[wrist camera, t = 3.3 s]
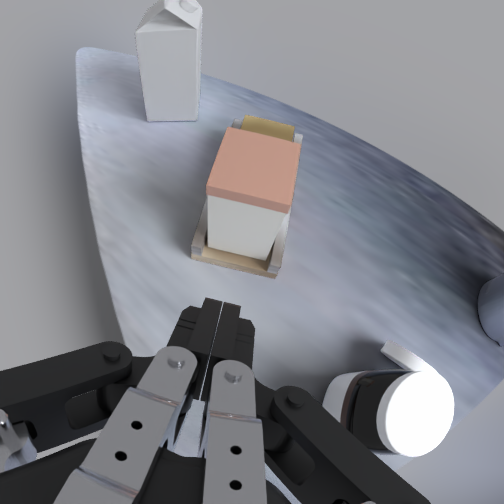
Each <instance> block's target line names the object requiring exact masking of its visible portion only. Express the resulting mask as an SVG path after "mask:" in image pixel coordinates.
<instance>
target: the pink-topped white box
mask: <svg viewBox="0 0 504 504" xmlns="http://www.w3.org/2000/svg"><path fill="white" fill-rule="evenodd" d="M300 149H301V144H299V143H295V142H291V141H287V140H283V139H279V138H275V137H271V136H267V135H263V134H259V133H254V132H250V131H245V130H241V129H236V128H231V127H227V129H226V132H225V135H224V137H223V140H222V143H221V145H220V148H219V151H218V153H217V156H216V159H215V162H214V164H213V167H212V170H211V173H210V176H209V178H208V181H207V184H206V195H208V247H210V248H214V249H218V250H223V251H227V252H231V253H235V254H239V255H243V256H247V257H252V258H256V259H260V260H264V261H266V259H267V256H268V254H269V252H270V249H271V247H272V245H273V243H274V240H275V238H276V236H277V233H278V231H279V229H280V226H281V224H282V222H283V219H284V217H285V215H286V214H288V212H289V210H290V207H291V204H292V198H293V192H294V186H295V180H296V174H297V168H298V162H299V156H300Z"/></svg>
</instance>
